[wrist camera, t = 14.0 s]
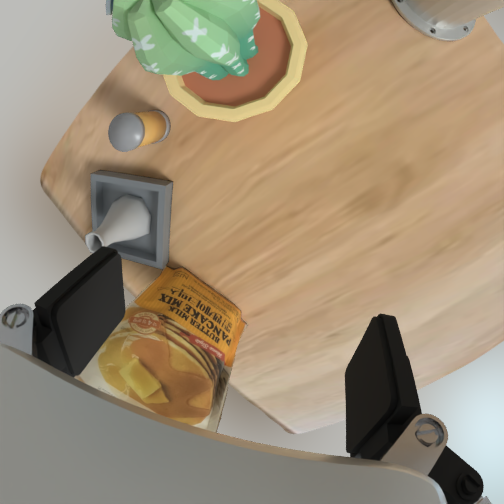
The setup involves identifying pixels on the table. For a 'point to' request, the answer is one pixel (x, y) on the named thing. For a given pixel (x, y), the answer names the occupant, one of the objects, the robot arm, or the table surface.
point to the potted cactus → (216, 51)
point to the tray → (157, 202)
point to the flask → (121, 223)
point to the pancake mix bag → (171, 351)
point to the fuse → (138, 129)
